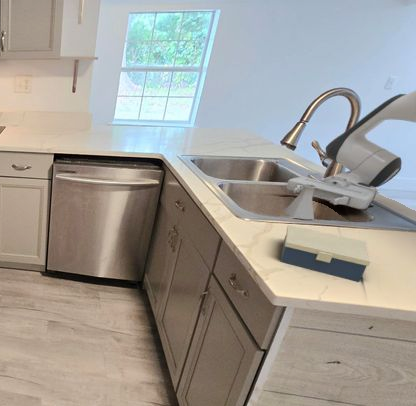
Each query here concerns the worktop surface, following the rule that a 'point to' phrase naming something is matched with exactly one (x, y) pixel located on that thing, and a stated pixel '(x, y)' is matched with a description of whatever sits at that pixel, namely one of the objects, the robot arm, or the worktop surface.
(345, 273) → the lunchbox
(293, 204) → the flask
